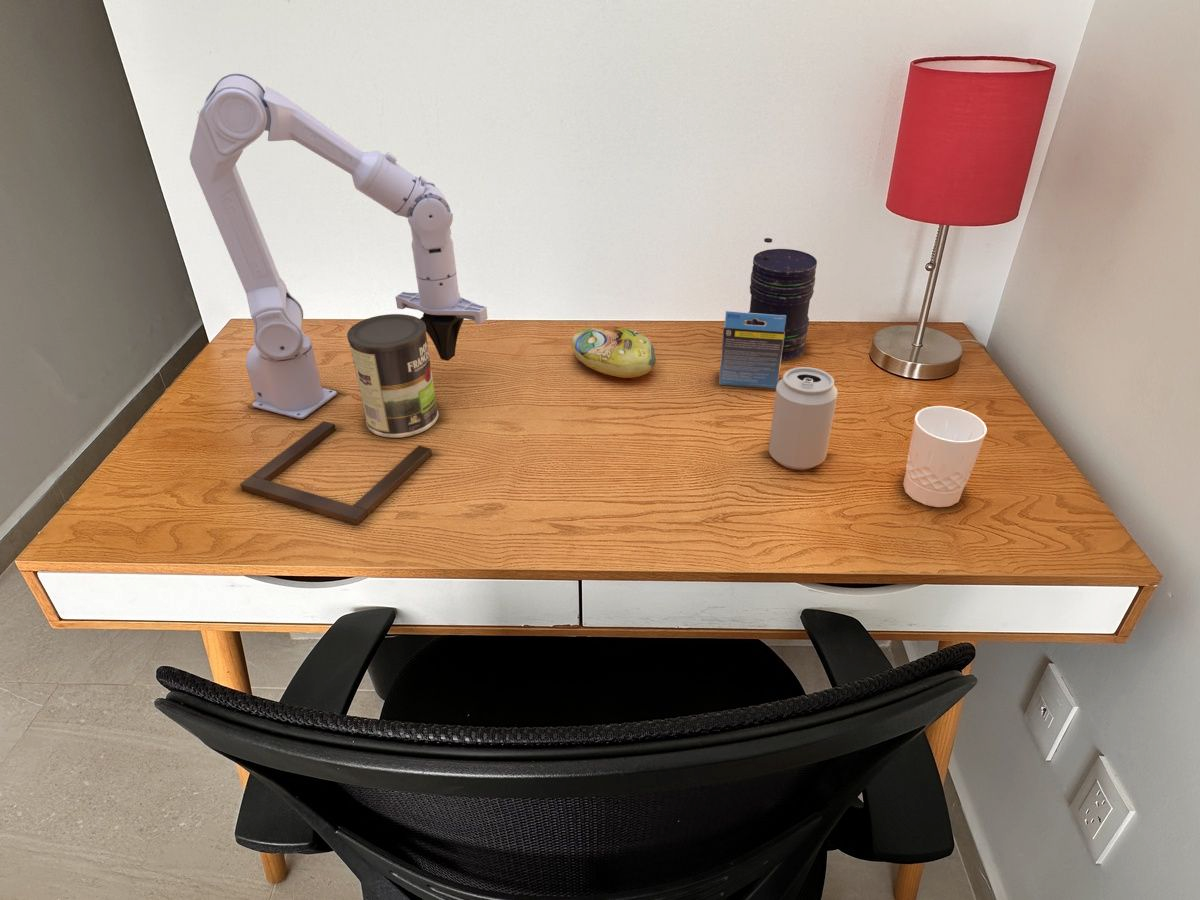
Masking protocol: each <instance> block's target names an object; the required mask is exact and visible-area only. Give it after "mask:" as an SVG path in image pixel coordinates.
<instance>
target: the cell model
mask: <svg viewBox="0 0 1200 900" xmlns="http://www.w3.org/2000/svg"><path fill="white" fill-rule="evenodd" d="M571 349H572V352H573V354H574V356H575V358H576V359H577V360H578V361H579V362H580V363H581V364H583V365H585V366H586V367H588V368H590V369H592V370H594V371H595V372H598V373H601V374H604V375H608V376H612V377H617V378H622V379H623V378H625V379H627V378H628V379H629V378H630V379H631V378H638V377H641V376H645V375H646V374H648V373H649V372H651V371H652V369H653V368H654V367H655V365H656V361H657V360H656V351H655V346H654V345H653V343H652V341H651V340H650V339H648V337H647V336H645V335H644V334H643V333H641V332H639V331H637V330H634V329H631V328H627V327H622V326H615V325H605V326H598V327H589V328H584V329H581V330H579V331H577V332H576V333H575V334H574V335H573V337H572V339H571Z"/></svg>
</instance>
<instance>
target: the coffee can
mask: <svg viewBox="0 0 1200 900" xmlns="http://www.w3.org/2000/svg"><path fill="white" fill-rule="evenodd" d="M346 338H347V341H348V343H349V346H350V347H349V348H350V351H351V356H352V361H353V365H354V370H355V375H356V379H357V384H358V389H359V394H360V399H361V403H362V408H363V412H364V418H365V425H366V428H367V429H368V431H369V432H371V433H373V434H374V435H376V436H379V437H383V438H389V439H398V438H408V437H412V436H416V435H419V434H422V433H423V432H425V431H428V430H429V429H430V428H432V427H433V426H434V425H435V424H436V422H437V421H438V419H439V416H440V415H439V410H438V405H437V399H436V398H437V397H436V392H435V386H434V379H433V372H432V365H431V358H430V352H429V346H428V338H427V332H426V325H425V323H424V322H423V321H422V320H421V319H420V318H419V317H417V316H414V315H411V314H403V313H389V314H381V315H376V316H371V317H369V318H365V319H363V320H361V321H359V322H357V323H355V324H354V325H352V326H351V327H350V328H349V329H348V331H347V334H346Z"/></svg>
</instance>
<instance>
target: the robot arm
mask: <svg viewBox="0 0 1200 900" xmlns="http://www.w3.org/2000/svg"><path fill="white" fill-rule="evenodd" d="M197 118H198V119H197V123H196V126H195V127H196V128H195V131H194V136H193V140H192V144H191V148H190V152H189V161H190V166H191V167H192V170H193V172H194V175H195V177H196V179H197V182H198V184H199V186H200V188H201V192H202V193H203V196H204V198H205V201H206V203H207V205H208V208H209V211H210V212H211V214H212V217H213V219H214V221H215V224H216V227H217V229H218V231H219V234H220V235H221V238H222V240H223V243H224V245H225V247H226V250H227V252H228V255H229V258H230V260H231V262H232V264H233V266H234V268H235V269H234V270H235V271H236V273H237V275H238V278H239V280H240V282H241V285H242V287H243V289H244V292H245V295H246V299H247V303H248V309H249V314H250V317H251V319H252V322H253V324H254V330H253V342H254V344H253V345H252V346H251V347H250V348H249V350H248V352H247V354H246V359H245V369H246V372H247V376H248V379H249V382H250V385H251V389H252V392H253V396H254V399H255V401H254V402H252V407H253V408H255V409H260V410H263V411H267V412H271V413H274V414H279V415H283V416H287V417H290V418H295V419H298V420H303V419H305V418H307V417H308V416H309V415H312V413H314V412H315V411H316V410H318V409H320V408H321V407H322V406H324V405H325V404H326V403H327V402H329V401H330V400H331V399H333V398H335V397H336V396H337V395H338V392H337V390H333V389H329V388H324V387H323V384H322V381H321V377H320V373H319V369H318V365H317V360H316V356H315V353H314V349H313V348H314V347H313V345H312V344H313V343H312V340H311V338H310V337H309V336H307V335H306V334H305V332H303V320H304V309H303V307H302V305H301V304H300V302H299V300H297V299H296V298H295V297H294V296H293V295H292V294H291V293H290V292H289V289H288V288H287V284H286V283H285V281H284V280H283V279H282V278H281V276H280V274H279V271H278V269H277V267H276V264H275V261H274V259H273V256H272V254H271V251H270V249H269V247H268V244H267V241H266V238H265V236H264V234H263V231H262V228H261V226H260V223H259V221H258V218H257V216H256V213H255V210H254V208H253V205H252V204H251V201H250V198H249V196H248V193H247V190H246V188H245V185H244V183H243V180H242V178H241V175H240V173H239V171H238V167H237V165H236V164H237V162H238V161H239V160H240V157H241V156H242V154H243V152H244V150H245V149H246V148H248V147H249V146H250V145H252V144H253V143H254V142H256V141H257V139H259V138H260V137H262V135H263V133H264V132H265V131H266V132H268V135H267V142H281V141H282V142H283V141H293V142H295V143H298V144H299V145H301V146H303V147H304V148H306V149H308V150H309V151H311V152H313V154H314V153H315V154H316V155H318V156H319V157H321V158H323V159H325V160H326V161H328V162H330V163H331V164H333V165H335V166H336V167H338V168H339V169H341V170H343V171H345V172H346V173H348V174H350V176H351V178H352V182H353V185H354V188H355V190H357V191H358V192H360V193H361V194H363V195H364V196H367V197H368V198H369V199H371V200H372V201H374V202H376V203H378V204H379V205H380V206H382V207H383V208H385V209H386V210H388V211H390V212H391V213H393V214H394V215H396V216H398V217H404V218H406V219H407V221H408V224H409V227H410V232H411V238H412V240H411V249H412V250H411V252H412V256H413V258H412V259H413V263H414V270H415V271H414V272H415V278H416V283H417V290H418V292H409V291H402V292H400V293H399V294H397V295H396V296H395V302H396V309H399V310H404V309H411V310H416V311H419V312H422V316H421V317H420V318H419V319H421V320H422V321H423V322H424V323H425V325H426V334H427V335H428V337H429V338H430V340H431V341H432V343H433V345H434V347H435V349H436V352H437V354H438V356H439V358H440V360H441V361H442V360H443V361H447V362H449V361H450V360H451V359H453V358H454V357H455V356H456V348H457V341H458V336H459V333H460V330H461V327H462V324H463V322H464V320H470V321H474V323H475V324H479V325H481V324H483V323H484V322H485V321H486V320H487V319H488V309H487V306H486V305H481V304H478V303H476V302H473V301H470V300H468V299H466V298H464V297H462V296H461V294H460V293H461V292H460V290H459V283H458V275H457V264H456V258H455V257H456V256H455V251H454V250H455V249H454V241H453V239H452V238H451V237H452V236H451V235H452V230H451V226H452V223H453V220H454V214H453V212H451V207H450V205H449V203H448V201H447V199H446V197H445V195H444V194H443V192H442V191H441V190H440V189H439V188H438V187H436V185H435V183H433V182H431V181H428V180H427V178H425V177H424V176H422V175H419V177H418V176H416V175H415V174H413V173H411V172H410V171H408V170H407V169H406V168H404V167H403V166H402V165H400V164H398V163H397V162H398V160H397V159H398V158H397V157H396V156H395V155H394V154H392V153H391V152H389V151H387V152H386V153H385V154H384V153H382V152H381V151H379V150H372V151H362V150H361V149H359V148H358V147H356V146H355V145H354V144H353V143H351V142H349V141H347V139H345V138H344V137H342V136H341V135H340V134H338V133H337V132H335V131H334V130H332V128H330V127H328V126H327V125H326V124H325V123H322V121H320V120H318V119H317V118H316V117H315V116H313V115H312V114H311V113H309V112H308V111H306V110H305V109H303V108H302V107H301V106H300V105H298V104H297V103H295V102H293V101H292V100H291V99H289V98H287V97H286V96H284V95H283V94H281V93H280V92H278V91H276V90H275V89H273V88H271V87H268V86H265V87H263V85H261V83H260V82H259V81H258V80H257V79H255V78H254V77H253V76H250V75H248V74H245V73H240V72H233V73H228V74H226V75H224V76H222V77H221V78H220V79H219V80H218V81H217V82H216V84H215V85H214V86H213V88H212V89H211V91H210V92H209V93H208V95H207V96H206V98H205V101H204V104H203V106H202V107H201V109H200V110H199V113H198V117H197Z"/></svg>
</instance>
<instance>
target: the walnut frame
mask: <svg viewBox="0 0 1200 900" xmlns="http://www.w3.org/2000/svg"><path fill="white" fill-rule="evenodd" d="M336 430H337V427H336V424H335V423H333V422H329V421H325V420H323V421H322V422H320V423H319V424H317V425H316V426H315V427H314V428H312V429H311V430H310V431H309V432H307V433H306V434H304V435H303V436H302V437H300V438H299V439H298V440H296V441H295V442H294V443H292V444H290V446H288V447H287V448H286V449H285V450H283V451H282V452H281V453H279V454H278V455H276V456H275V457H274V458H272V459H271V460H270V461H269V462H267V463H266V464H265V465H263V466H262V467H260V468H259V469H258V470H257V471H255V472H253V474H251V475H250V476H249V477H247V478H246V479H244V480H243V481H242V482H241V483H239V487H240V488H241V491H243V492H246V493H250V494H253V495H257V496H259V497H263V498H266V499H269V500H273V501H276V502H280V503H283V504H286V505H290V506H292V507H296V508H299V509H302V510H306V511H309V512H313V513H315V514H319V515H322V516H326V517H329V518H332V519H336V520H339V521H341V522H345V523H349V524H352V525H355V526H358V525H360V524H361V523H362V522H363V521H364V520H365V519H366V518H367V517H368V516H369V515H370V514H371V513H372V512H373V511H374V510H375V509H376V508H377V507H378V506H380V505H381V504H382V503H383V502H384V501H385V500H386V499H387V498H388V497H389V496H390V495H392V493H393V492H394V491H395V490H396V489H398V487H400V486H401V485H402V483H403V484H404V482H405V481H406V480H407V479H408V478H409V477H410V476H411V475H412V474H413V473H414V472H415V471H416V470H418V468H420V467H421V466H422V465H423V464H424V463H425V462H426V461H427V460H428V459H429V458H430V457H431V456H432V455H433V451H432V448H430V447H426V446H422V445H418V446H417V447H415V448H414V449H413V450H412V451H411V452H410V453H409V454H408V455H406V457H404V459H402V460H401V461H400V462H399V463H398V464H397V465H396V466H395V467H393V468H392V470H390V471H389V472H388V473H387V474H386V475H384V477H383V478H382V479H380V480H379V481H378V482H377V483H376V484H374V485H373V486H372V487H371V489H370V490H368V491H367V492H366V493H365V494H364V495H363V496H362V497H361V498H360V499H358V500H357V501H356V502H355V503H354V504H353V505H352V504H349V503H345V502H342V501H338V500H335V499H331V498H328V497H325V496H322V495H318V494H315V493H311V492H308V491H304V490H302V489H298V488H295V487H292V486H291V487H290V486H288V485H284V484H280V483H278V482H274V481H273V480H274V478H276V477H278V476H279V475H280V474H281V473H282V472H283V471H285V470H286V469H287V468H289V467H290V466H291V465H293V464H294V463H295V462H296V461H298V460H300V458H302V457H303V456H304V455H305V454H307V453H308V452H310V451H311V450H312V449H313V448H314V447H316V446H317V445H318V444H319V443H321V442H322V441H323V440H325V439H326V438H327V437H329V436H330V435H331V434H333V433H334V432H335V431H336Z"/></svg>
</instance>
